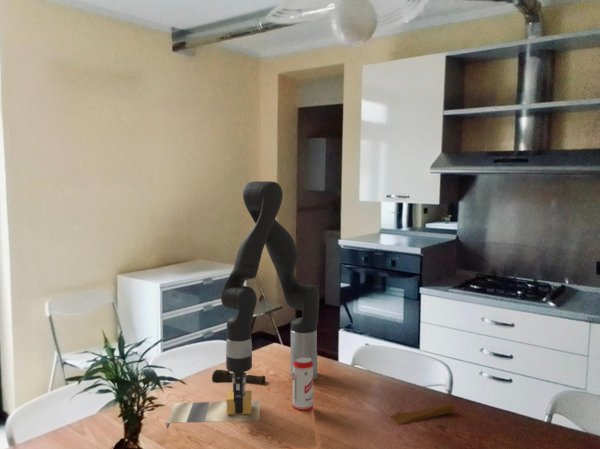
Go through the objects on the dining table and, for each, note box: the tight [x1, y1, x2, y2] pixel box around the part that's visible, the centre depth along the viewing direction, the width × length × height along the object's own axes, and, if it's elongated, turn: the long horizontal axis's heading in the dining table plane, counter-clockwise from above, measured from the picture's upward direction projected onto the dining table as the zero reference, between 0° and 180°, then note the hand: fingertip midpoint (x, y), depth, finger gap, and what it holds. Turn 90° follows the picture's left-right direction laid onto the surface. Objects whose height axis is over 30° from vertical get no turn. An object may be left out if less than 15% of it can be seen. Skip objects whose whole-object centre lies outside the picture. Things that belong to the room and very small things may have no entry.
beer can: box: [292, 356, 314, 412], centre depth 143 cm, size 6×6×16 cm
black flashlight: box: [211, 369, 266, 386], centre depth 162 cm, size 19×4×5 cm, turn 75°
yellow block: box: [226, 390, 253, 414], centre depth 140 cm, size 7×6×5 cm
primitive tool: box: [390, 402, 455, 426], centre depth 141 cm, size 19×6×4 cm, turn 107°
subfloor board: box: [166, 400, 261, 429], centre depth 140 cm, size 26×12×2 cm, turn 94°
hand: (239, 407), depth 140 cm, fingers closed on yellow block, 5 cm apart
